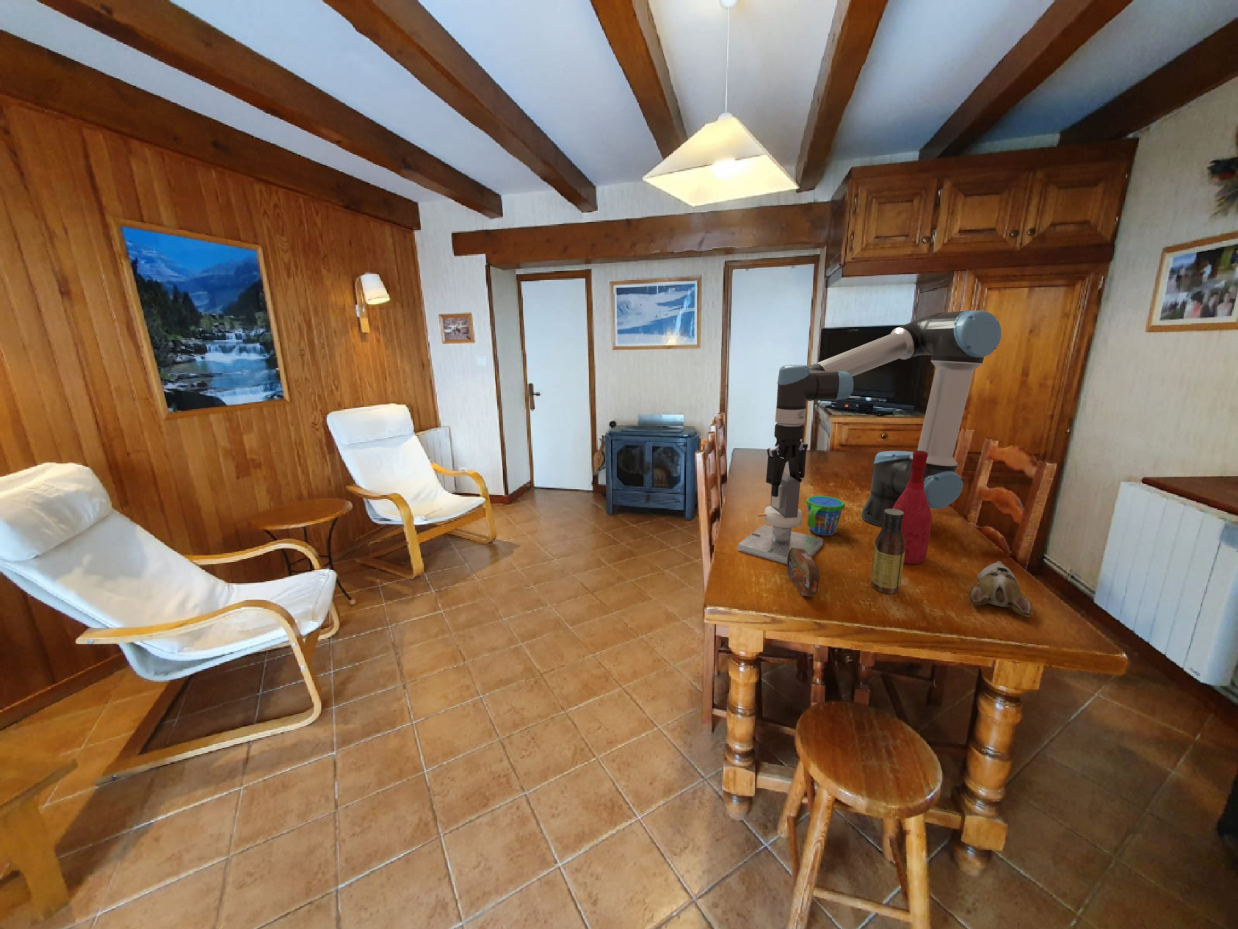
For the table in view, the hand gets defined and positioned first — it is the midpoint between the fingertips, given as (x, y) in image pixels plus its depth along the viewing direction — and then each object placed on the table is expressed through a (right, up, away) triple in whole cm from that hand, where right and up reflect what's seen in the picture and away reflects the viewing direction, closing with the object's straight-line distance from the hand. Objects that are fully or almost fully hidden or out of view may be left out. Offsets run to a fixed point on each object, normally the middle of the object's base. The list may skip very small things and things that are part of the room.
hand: (783, 504), depth 131 cm
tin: (-2, -19, -17) cm, 26 cm away
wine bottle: (+32, -14, -4) cm, 35 cm away
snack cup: (+17, -10, +14) cm, 24 cm away
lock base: (0, -13, +3) cm, 13 cm away
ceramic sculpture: (+39, -20, -26) cm, 51 cm away
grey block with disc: (-1, -5, +1) cm, 5 cm away
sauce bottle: (+17, -19, -19) cm, 32 cm away
